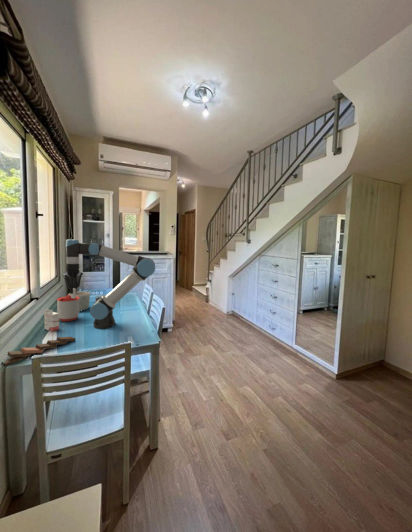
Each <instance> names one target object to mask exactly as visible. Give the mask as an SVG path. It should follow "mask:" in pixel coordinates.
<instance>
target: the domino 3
mask: <svg viewBox="0 0 412 532" xmlns="http://www.w3.org/2000/svg"><path fill="white" fill-rule="evenodd" d="M20 351H22V352H24V353H31V354H42V353H44V349H42V350H40V349H38V348H36V347H21V349H20Z"/></svg>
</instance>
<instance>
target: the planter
mask: <svg viewBox="0 0 412 532" xmlns="http://www.w3.org/2000/svg"><path fill="white" fill-rule="evenodd" d="M67 295H70V296H71V293H70V292H69V293H68V294H67ZM90 295H91V292H89V291H83V290H82V291H81V290H80V291H77V292H76V296H77V297H79V312H82V311H81V310H84V311H86V310H87V309H88V308H90V307H89V306H90V300H91V299H90V298H91V297H90ZM85 309H86V310H85Z"/></svg>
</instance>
